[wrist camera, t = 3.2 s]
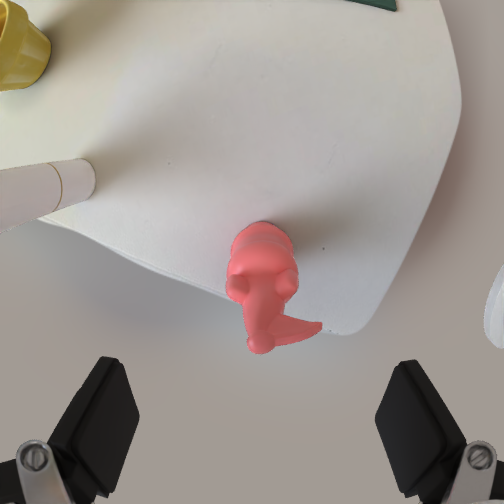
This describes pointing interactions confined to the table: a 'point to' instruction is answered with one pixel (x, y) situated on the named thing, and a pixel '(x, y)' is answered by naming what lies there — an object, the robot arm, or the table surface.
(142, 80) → the table surface
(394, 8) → the mat
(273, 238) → the figurine
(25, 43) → the flower pot
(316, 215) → the table surface
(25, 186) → the tube
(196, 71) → the table surface
